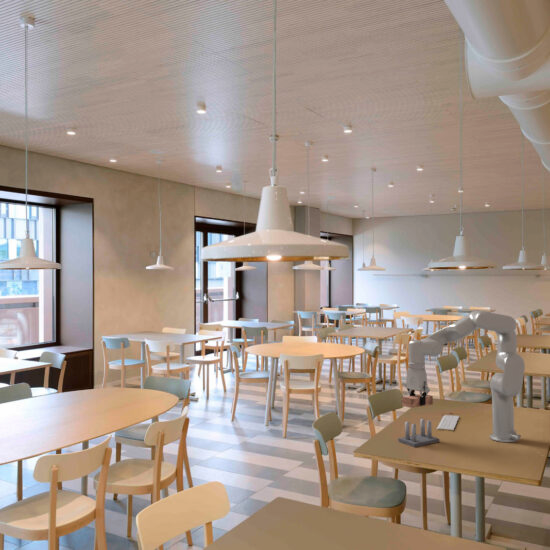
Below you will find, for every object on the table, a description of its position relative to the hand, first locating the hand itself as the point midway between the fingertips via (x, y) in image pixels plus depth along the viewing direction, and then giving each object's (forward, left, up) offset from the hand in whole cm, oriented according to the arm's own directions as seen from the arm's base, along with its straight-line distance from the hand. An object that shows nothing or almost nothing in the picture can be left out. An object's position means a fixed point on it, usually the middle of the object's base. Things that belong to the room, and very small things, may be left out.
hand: (417, 403), depth 263 cm
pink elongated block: (0, 0, -1) cm, 1 cm away
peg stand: (0, 0, -18) cm, 18 cm away
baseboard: (+17, -37, -19) cm, 45 cm away
